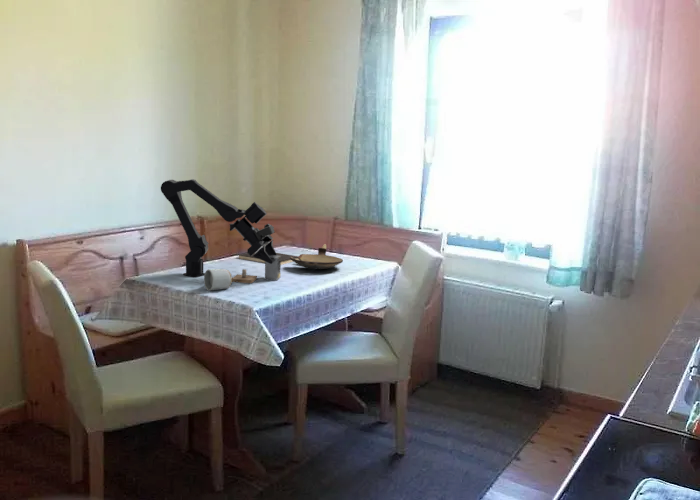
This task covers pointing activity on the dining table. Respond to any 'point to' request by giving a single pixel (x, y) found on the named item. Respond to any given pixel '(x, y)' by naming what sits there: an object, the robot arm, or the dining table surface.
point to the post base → (244, 278)
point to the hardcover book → (284, 260)
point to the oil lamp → (317, 260)
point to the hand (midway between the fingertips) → (274, 260)
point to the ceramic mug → (217, 279)
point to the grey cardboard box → (273, 268)
